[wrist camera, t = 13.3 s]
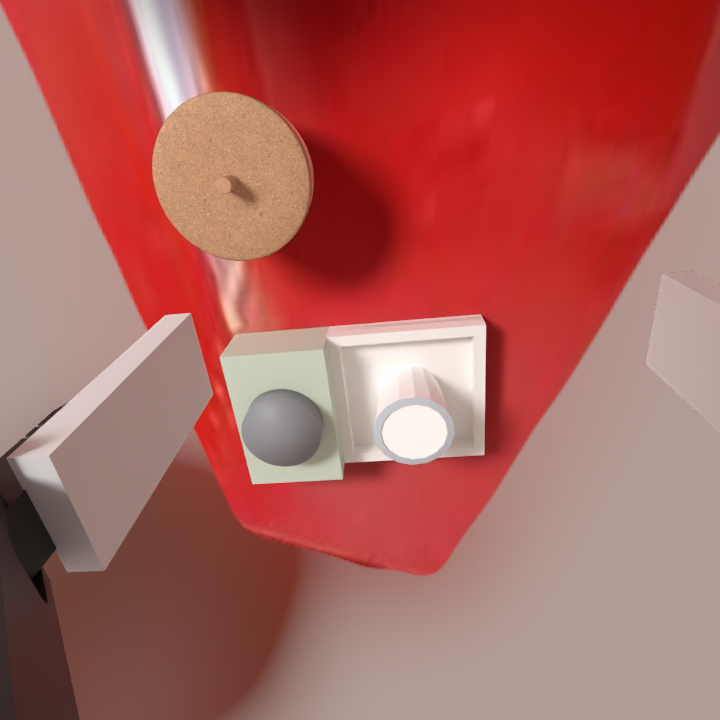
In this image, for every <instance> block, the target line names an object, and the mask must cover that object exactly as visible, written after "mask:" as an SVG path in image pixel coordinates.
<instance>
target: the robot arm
mask: <svg viewBox="0 0 720 720" xmlns="http://www.w3.org/2000/svg"><path fill="white" fill-rule="evenodd" d="M646 365H647V366H648V367H649V368H650V369H651V370H652V371H653V372H654V373H655V374H656V375H658V376H659V377H660V378H661V379H662V380H663V381H664V382H665V383H666V384H667V385H668V386H669V387H671V388H672V389H673V390H674V391H675V392H676V393H677V394H678V395H679V396H680V397H681V398H682V399H683V400H684V401H686V402H687V403H688V404H689V405H690V406H691V407H692V408H693V409H694V410H695V411H696V412H697V413H699V414H700V415H701V416H702V417H703V418H704V419H705V420H706V421H707V422H708V423H709V424H710V425H711V426H713V427H714V428H715V429H716V430H717V431H718V432H719V433H720V284H718V283H716V282H714V281H712V280H710V279H708V278H706V277H704V276H701V275H700V274H698V273H696V272H694V271H684V272H671V273H662V276H661V282H660V287H659V293H658V298H657V304H656V309H655V315H654V320H653V326H652V331H651V337H650V343H649V348H648V353H647V359H646ZM212 396H213V392H212V388H211V384H210V381H209V377H208V374H207V370H206V366H205V363H204V359H203V356H202V352H201V348H200V345H199V341H198V338H197V334H196V330H195V327H194V323H193V319H192V316H191V313H185V314H173V315H165V316H164V317H163V318H162V319H161V320H160V321H158V322H157V323H156V324H155V325H154V326H153V327H152V328H151V329H150V330H148V331H147V332H146V333H145V334H144V335H143V336H142V337H141V338H140V339H139V340H137V341H136V342H135V343H134V344H133V345H132V346H131V347H130V348H129V349H128V350H126V351H125V352H124V353H123V354H122V355H121V356H119V357H118V358H117V359H116V360H115V361H114V362H113V363H112V364H111V365H109V366H108V367H107V368H106V369H105V370H104V371H103V372H102V373H101V374H99V375H98V376H97V377H96V378H95V379H94V380H93V381H92V382H91V383H89V384H88V385H87V386H86V387H85V388H84V389H83V390H82V391H81V392H79V393H78V394H77V395H76V396H75V397H74V398H73V399H72V400H71V401H69V402H68V403H66V404H65V405H63V406H61V407H59V408H58V409H56V410H54V411H53V412H52V413H51V414H49V415H48V416H47V417H46V418H45V419H44V420H43V421H41V422H40V423H39V424H38V427H35V428H34V429H32V430H31V431H30V432H29V433H28V434H27V435H26V438H23V439H21V440H20V441H19V442H18V443H17V444H15V445H14V446H13V447H12V448H11V449H10V450H9V451H8V452H6V453H5V454H4V455H3V456H2V457H1V458H0V720H79V715H78V710H77V705H76V701H75V696H74V691H73V687H72V682H71V677H70V672H69V668H68V663H67V659H66V653H65V649H64V644H63V639H62V634H61V630H60V625H59V620H58V616H57V611H56V606H55V601H54V597H53V592H52V587H51V582H50V579H49V577H48V576H47V574H46V572H45V570H44V568H43V565H44V564H45V563H46V561H47V560H48V559H49V557H50V556H51V555H52V553H53V552H54V551H55V550H56V552H57V554H58V556H59V557H60V559H61V561H62V563H63V565H64V567H65V569H66V570H67V572H76V571H77V572H78V571H103V570H105V569H106V567H107V566H108V564H109V562H110V561H111V559H112V558H113V556H114V554H115V553H116V551H117V549H118V548H119V546H120V545H121V543H122V541H123V540H124V538H125V537H126V535H127V533H128V532H129V530H130V528H131V527H132V525H133V524H134V522H135V520H136V519H137V517H138V516H139V513H140V512H141V511H142V509H143V507H144V506H145V504H146V502H147V501H148V499H149V498H150V496H151V494H152V493H153V491H154V490H155V488H156V486H157V485H158V483H159V481H160V480H161V478H162V477H163V475H164V473H165V472H166V470H167V469H168V467H169V465H170V464H171V462H172V460H173V459H174V457H175V456H176V454H177V452H178V450H179V449H180V447H181V446H182V444H183V443H184V441H185V439H186V438H187V436H188V434H189V433H190V431H191V430H192V428H193V426H194V425H195V423H196V422H197V420H198V418H199V417H200V415H201V413H202V412H203V410H204V409H205V407H206V405H207V404H208V402H209V400H210V399H211V397H212Z"/></svg>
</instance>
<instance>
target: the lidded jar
mask: <svg viewBox="0 0 720 720" xmlns="http://www.w3.org/2000/svg"><path fill="white" fill-rule="evenodd" d="M152 169H153V180H154V185H155V190H156V193H157V196H158V199H159V201H160V204H161V206H162V208H163V210H164V212H165V214H166V216H167V217H168V218H169V220H170V221H171V223H172V224H173V226H174V227H175V228H176V229H177V230H178V231H179V232H180V233H181V235H182V236H183V237H185V238H186V239H187V240H188V241H189V242H191V243H192V244H193V245H195V246H196V247H198V248H199V249H201V250H203V251H205V252H207V253H209V254H211V255H213V256H216V257H220V258H223V259H228V260H235V261H249V260H254V259H260V258H262V257H265V256H268V255H271V254H272V253H274V252H276V251H278V250H280V249H281V248H282V247H283V246H285V245H286V244H287V243H288V242H289V241H290V240H291V239H292V238H293V237H294V236H295V234H296V233H297V232H298V230H299V229H300V227H301V225H302V224H303V222H304V220H305V218H306V215H307V213H308V210H309V207H310V205H311V200H312V196H313V188H314V174H313V166H312V161H311V157H310V154H309V152H308V149H307V146H306V144H305V143H304V141H303V139H302V137H301V135H300V134H299V133H298V131H297V130H296V129H295V127H294V126H293V125H292V124H291V123H290V122H289V121H288V120H287V119H286V118H285V117H284V116H283V115H282V114H281V113H279V112H278V111H277V110H275V109H274V108H272V107H270V106H269V105H267V104H265V103H263V102H261V101H259V100H257V99H255V98H253V97H250V96H247V95H243V94H240V93H233V92H210V93H206V94H201V95H198V96H196V97H194V98H192V99H189V100H187V101H186V102H185V103H183V104H182V105H180V106H179V107H177V108H176V110H175V111H174V112H173V113H172V114H171V115H170V116H169V117H168V118H167V120H166V121H165V123H164V124H163V126H162V127H161V130H160V132H159V134H158V137H157V139H156V143H155V147H154V151H153V161H152Z"/></svg>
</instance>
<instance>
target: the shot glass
mask: <svg viewBox="0 0 720 720" xmlns="http://www.w3.org/2000/svg"><path fill="white" fill-rule="evenodd" d="M373 434H374V438H375V442H376V445H377V446H378V447H379V449H380V450H381V451H382V452H383V454H384V455H386V456H387V457H389V458H391V459H393V460H394V461H396V462H399V463H405V464H411V465H414V464H422V463H428V462H430V461H432V460H434V459H436V458H438V457H440V456H442V454H443V453H444V452H445V451H446V450H447V449H448V448H449V447H450V446H451V443H452V440H453V437H454V434H455V429H454V422H453V418H452V416H451V413H450V411H449V408H448V406H447V404H446V401H445V399H444V396H443V394H442V391H441V389H440V387H439V384H438V382H437V380H436V379H435V377H434V376H433V374H432V373H431V372H429V371H427V370H426V369H424V368H422V367H418V366H412V365H409V366H403V367H399V368H397V369H395V370H393V371H392V372H390V373H389V374H388V375H387V377H386V378H385V379H384V380H383V383H382V387H381V392H380V397H379V402H378V408H377V413H376V418H375V424H374V429H373Z"/></svg>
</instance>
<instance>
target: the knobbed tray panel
mask: <svg viewBox="0 0 720 720" xmlns="http://www.w3.org/2000/svg"><path fill="white" fill-rule="evenodd" d="M220 361H221V365H222V368H223V372H224V376H225V380H226V384H227V388H228V391H229V395H230V399H231V403H232V407H233V411H234V414H235V418H236V422H237V426H238V430H239V434H240V438H241V441H242V445H243V449H244V453H245V457H246V461H247V464H248V468H249V472H250V476H251V480H252V484H264V483H283V482H302V481H321V480H339V479H343V474H344V465H345V463H351V462H369V461H387V460H393V459H391V458H389V457H387V456H386V455H384V454H383V452H382V451H381V450H380V449H379V447H378V446H377V445H376V442H375V438H374V434H373V429H374V424H375V418H376V413H377V408H378V402H379V397H380V392H381V387H382V383H383V380H384V379H385V378H386V377H387V375H388V374H389V373H390V372H392V371H393V370H395V369H397V368H399V367H403V366H409V365H412V366H418V367H422V368H424V369H426V370H427V371H429V372H431V373H432V374H433V376H434V377H435V379H436V380H437V382H438V384H439V387H440V389H441V391H442V394H443V396H444V399H445V401H446V404H447V406H448V408H449V411H450V413H451V416H452V418H453V422H454V429H455V434H454V437H453V440H452V443H451V446H450V447H449V448H448V449H447V450H446V451H445V452H444V453H443V454H442V456H440V457H458V456H476V455H484V446H485V374H486V323H485V322H484V320H483V318H482V316H481V314H479V315H467V316H454V317H442V318H430V319H417V320H405V321H392V322H380V323H368V324H355V325H343V326H330V327H318V328H306V329H293V330H281V331H268V332H256V333H244V334H235V336H234V337H233V339H232V340H231V342H230V343H229V344H228V346H227V347H226V349H225V350H224V352H223V353H222V355H221V356H220ZM440 457H438V458H440Z"/></svg>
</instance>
